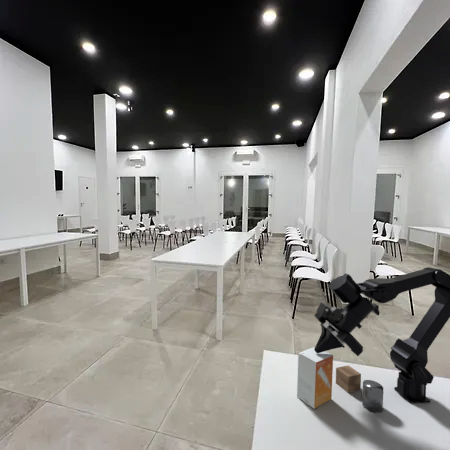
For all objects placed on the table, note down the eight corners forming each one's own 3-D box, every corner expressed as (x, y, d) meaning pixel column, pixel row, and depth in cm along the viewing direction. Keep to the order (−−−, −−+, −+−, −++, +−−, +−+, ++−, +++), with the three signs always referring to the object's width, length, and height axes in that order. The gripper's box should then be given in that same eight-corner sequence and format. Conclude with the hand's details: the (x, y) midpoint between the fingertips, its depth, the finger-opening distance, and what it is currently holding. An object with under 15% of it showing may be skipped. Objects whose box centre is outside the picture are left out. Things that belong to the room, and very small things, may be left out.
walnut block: (347, 380, 84) (348, 365, 84) (360, 390, 80) (361, 373, 80) (335, 383, 83) (336, 367, 83) (347, 393, 78) (348, 376, 78)
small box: (314, 410, 70) (315, 362, 70) (296, 396, 76) (297, 352, 76) (332, 399, 75) (333, 354, 75) (314, 387, 80) (315, 345, 80)
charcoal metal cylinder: (375, 400, 75) (375, 379, 75) (387, 412, 70) (387, 391, 70) (358, 400, 75) (359, 380, 75) (369, 413, 70) (370, 391, 70)
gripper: (320, 286, 85) (286, 319, 84) (353, 304, 66) (309, 347, 65) (343, 310, 85) (309, 343, 85) (381, 335, 67) (339, 378, 66)
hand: (315, 351), depth 75 cm, fingers closed
